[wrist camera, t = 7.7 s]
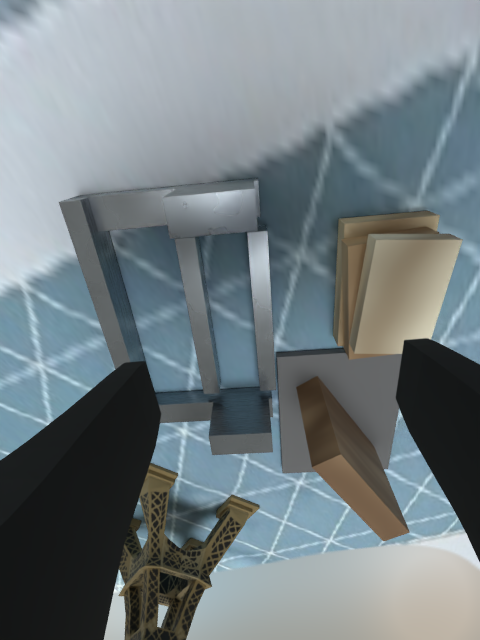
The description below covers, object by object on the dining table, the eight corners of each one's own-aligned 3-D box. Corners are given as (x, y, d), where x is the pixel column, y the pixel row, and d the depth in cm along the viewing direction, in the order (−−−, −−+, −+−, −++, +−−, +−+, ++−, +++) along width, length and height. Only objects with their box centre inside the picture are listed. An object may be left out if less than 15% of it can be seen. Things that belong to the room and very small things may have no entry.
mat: (406, 344, 20) (409, 348, 20) (385, 463, 25) (387, 468, 25) (276, 352, 21) (277, 357, 20) (282, 467, 26) (282, 473, 26)
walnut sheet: (317, 375, 21) (340, 454, 16) (374, 446, 24) (409, 532, 19) (296, 387, 21) (311, 467, 16) (354, 455, 24) (383, 541, 19)
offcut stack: (427, 210, 16) (467, 225, 14) (406, 332, 20) (434, 365, 17) (336, 219, 17) (355, 235, 14) (331, 337, 20) (345, 371, 17)
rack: (263, 177, 16) (268, 187, 12) (276, 404, 23) (281, 451, 19) (78, 195, 16) (33, 210, 13) (145, 411, 23) (127, 458, 20)
